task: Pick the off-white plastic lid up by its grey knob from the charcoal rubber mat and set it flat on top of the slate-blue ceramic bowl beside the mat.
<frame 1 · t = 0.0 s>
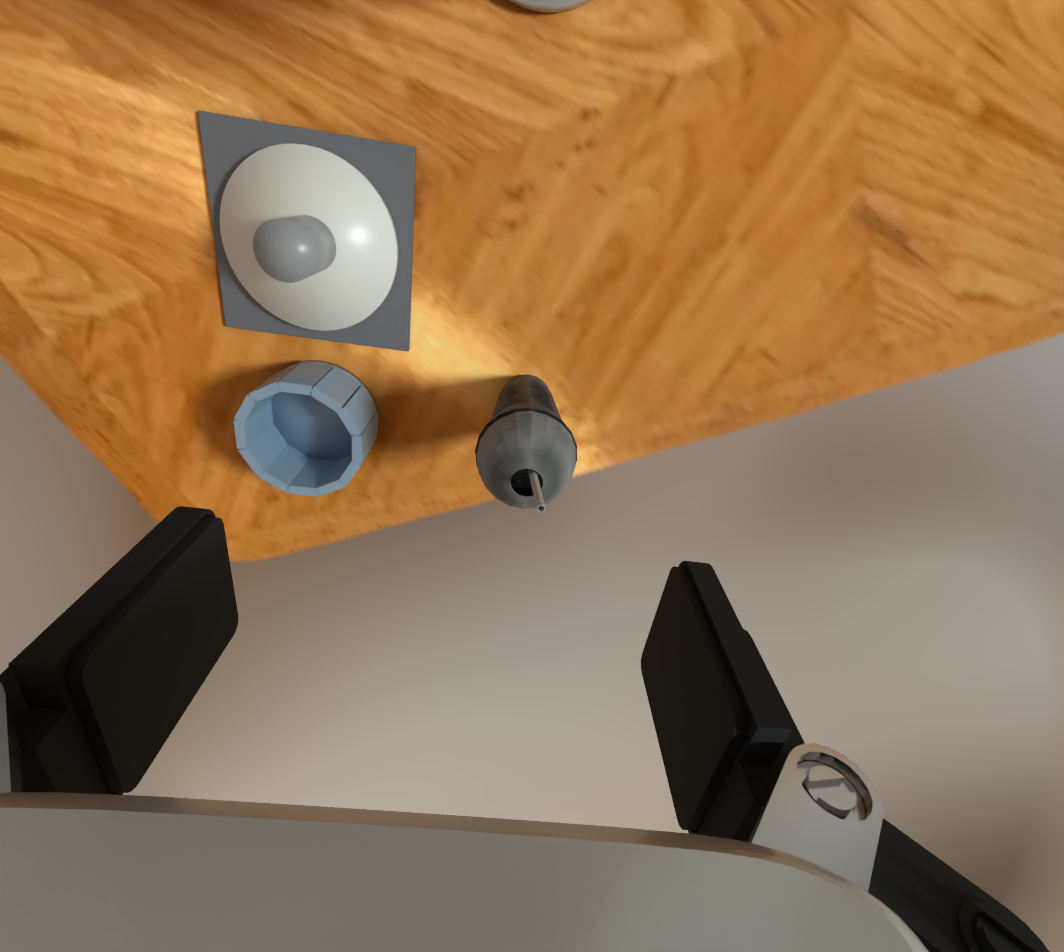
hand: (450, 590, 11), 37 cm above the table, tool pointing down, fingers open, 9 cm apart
mat: (315, 242, 42), on the table
lid: (313, 243, 41), resting on mat
beverage cup: (525, 397, 48), on the table
bowl: (323, 414, 49), on the table
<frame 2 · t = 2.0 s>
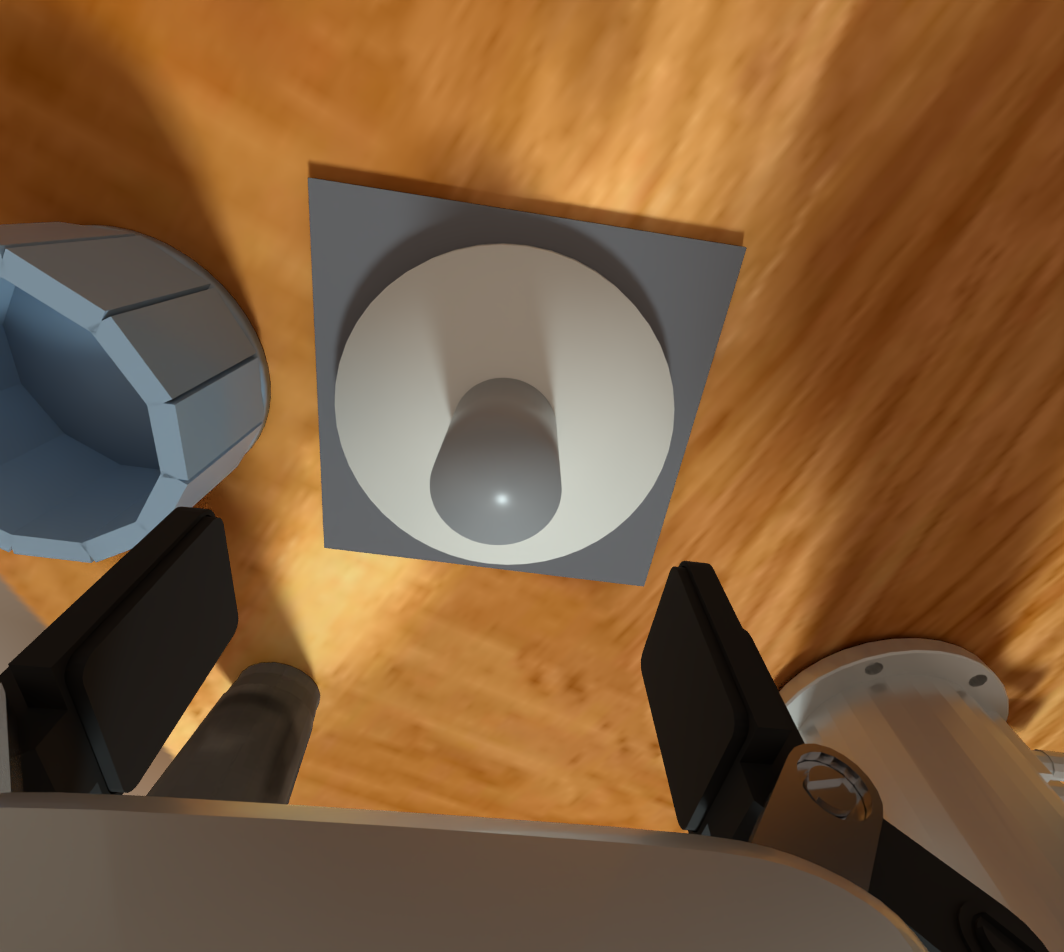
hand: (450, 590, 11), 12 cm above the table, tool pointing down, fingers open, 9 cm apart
mat: (506, 415, 22), on the table
lid: (506, 418, 22), resting on mat
beverage cup: (280, 688, 30), on the table
bowl: (141, 364, 21), on the table
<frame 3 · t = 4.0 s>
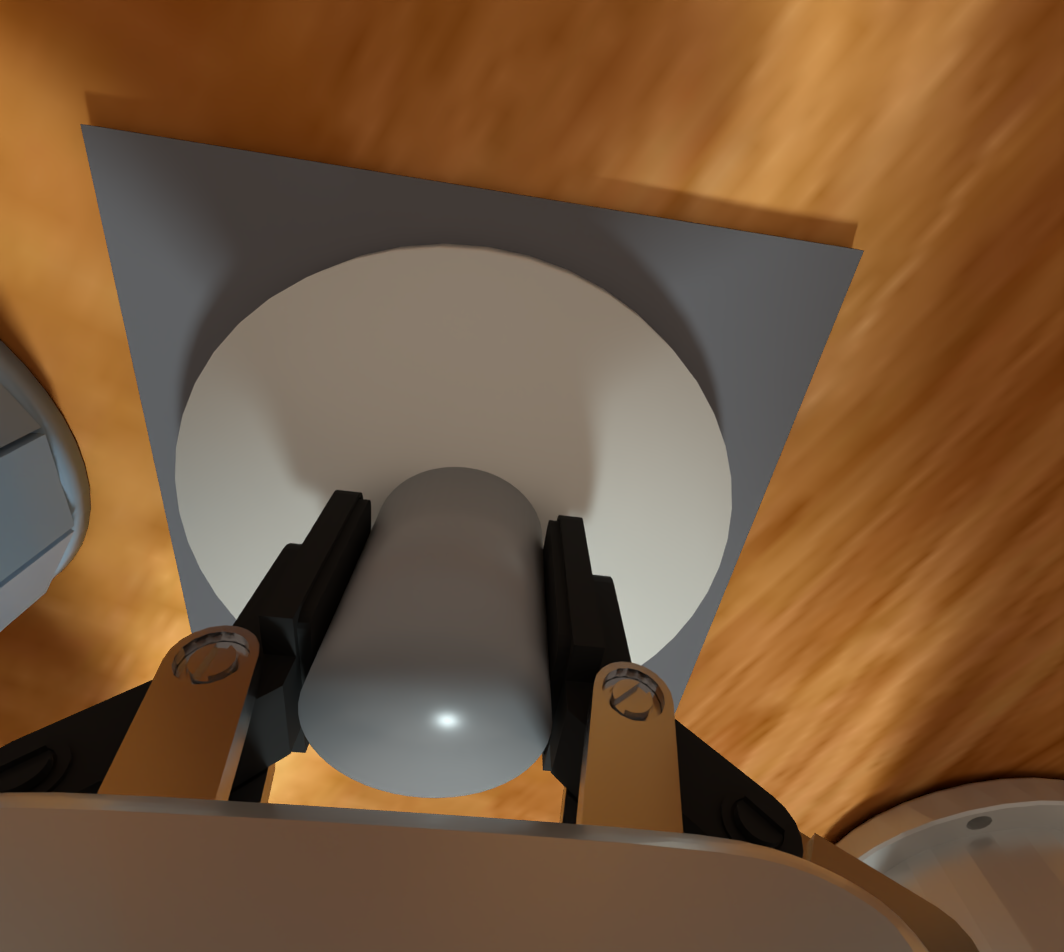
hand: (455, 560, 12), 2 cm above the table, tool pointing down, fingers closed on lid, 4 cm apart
mat: (464, 509, 14), on the table
lid: (463, 517, 14), resting on mat, touching gripper
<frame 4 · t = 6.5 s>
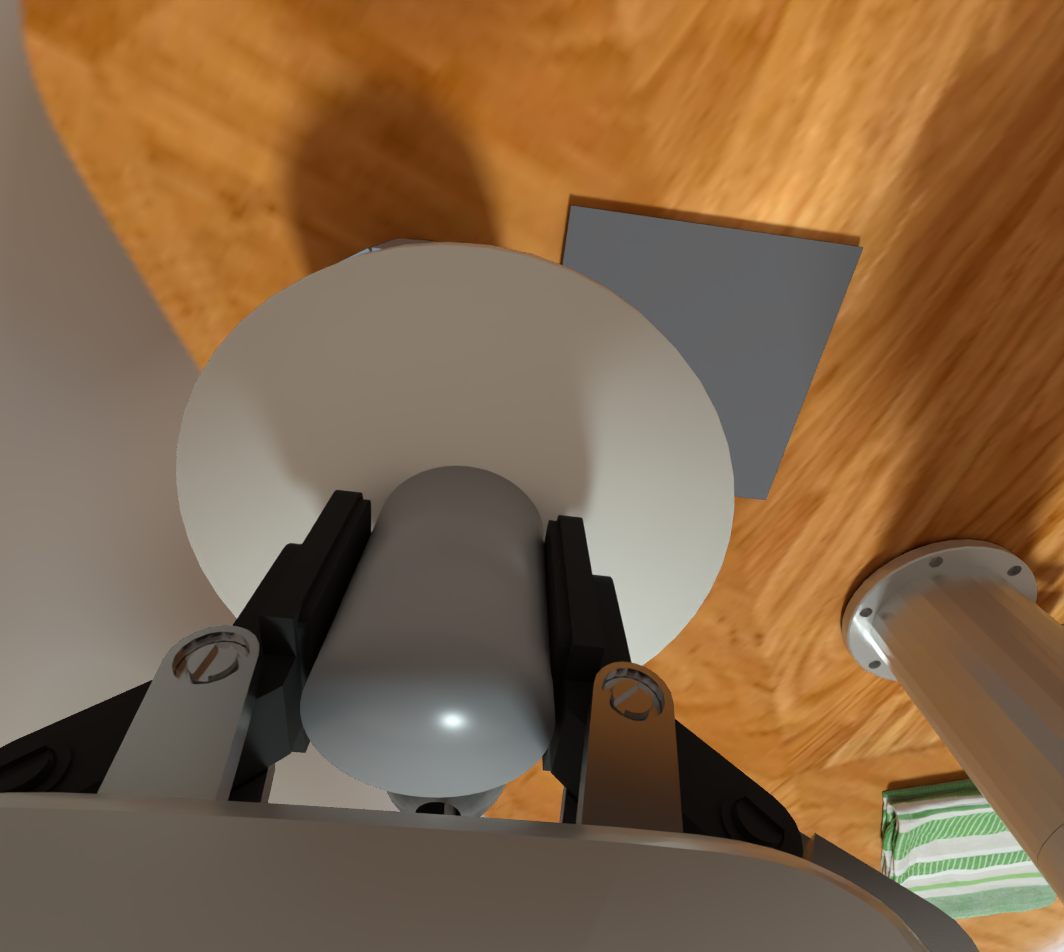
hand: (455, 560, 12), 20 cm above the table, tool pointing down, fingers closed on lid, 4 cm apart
dish towel: (963, 837, 54), on the table
mat: (679, 369, 31), on the table
lid: (465, 516, 14), point 18 cm above the table, touching gripper
beverage cup: (472, 592, 39), on the table
bowl: (424, 337, 30), on the table
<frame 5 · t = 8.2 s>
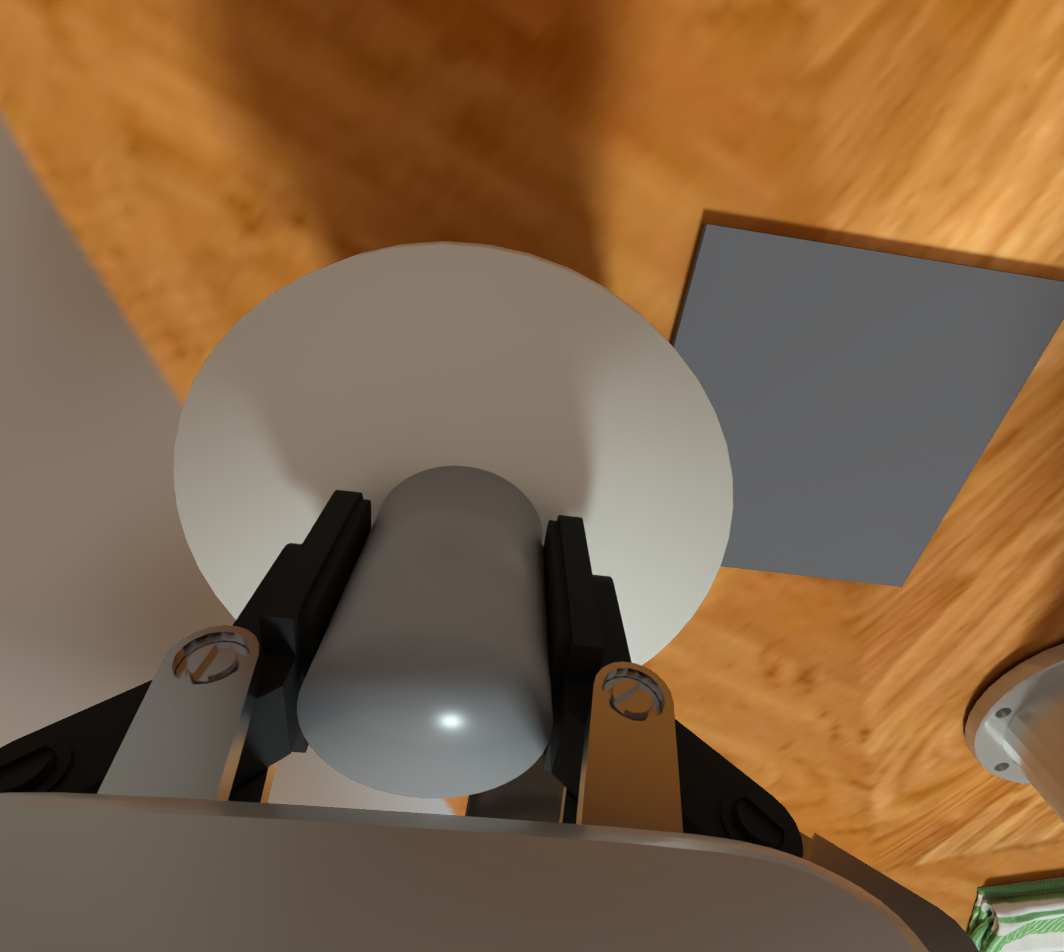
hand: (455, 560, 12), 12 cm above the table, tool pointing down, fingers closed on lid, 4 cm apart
dish towel: (1055, 928, 48), on the table
mat: (817, 433, 24), on the table
lid: (463, 516, 14), point 10 cm above the table, touching gripper
beverage cup: (528, 684, 32), on the table
when the fingers open (9 cm above the table, at t = 9.5 s): lid stays where it is, resting on bowl.
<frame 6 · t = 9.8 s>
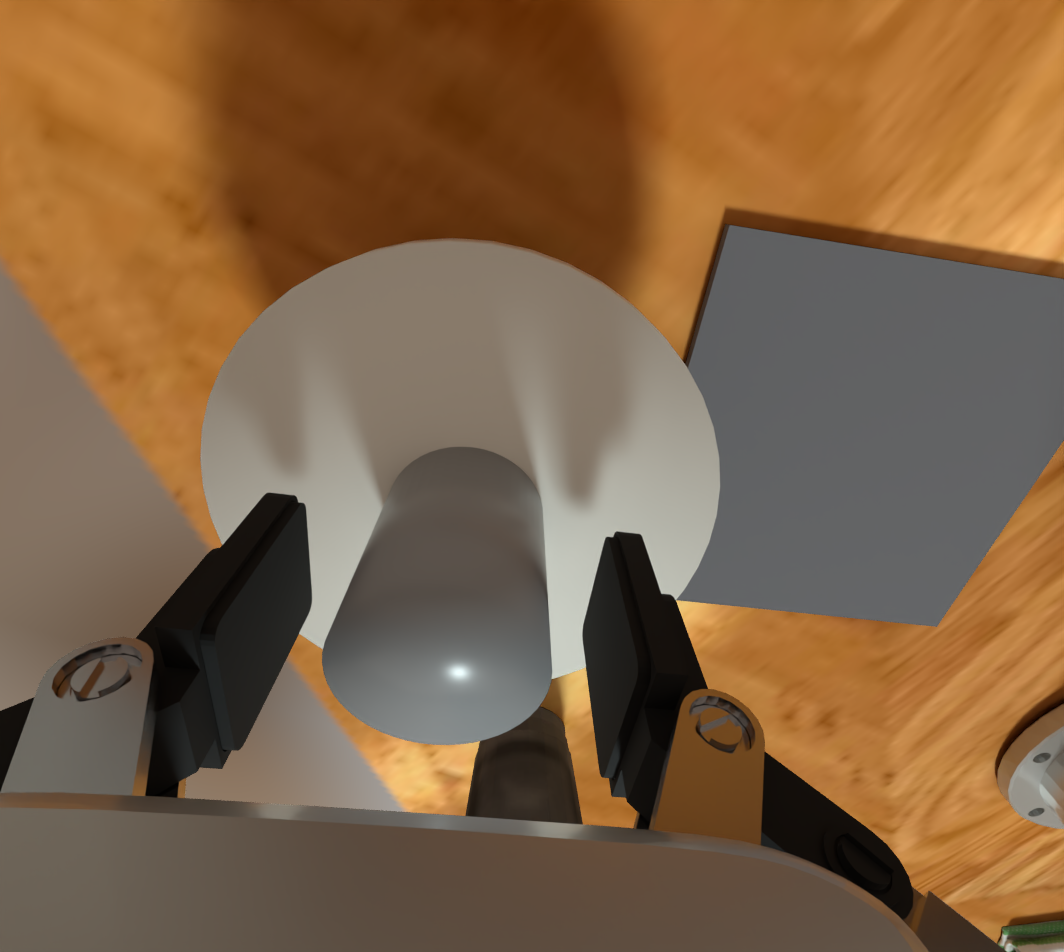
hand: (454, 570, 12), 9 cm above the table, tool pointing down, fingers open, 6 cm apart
mat: (848, 461, 21), on the table
lid: (468, 496, 15), point 6 cm above the table, touching bowl
beverage cup: (523, 729, 29), on the table
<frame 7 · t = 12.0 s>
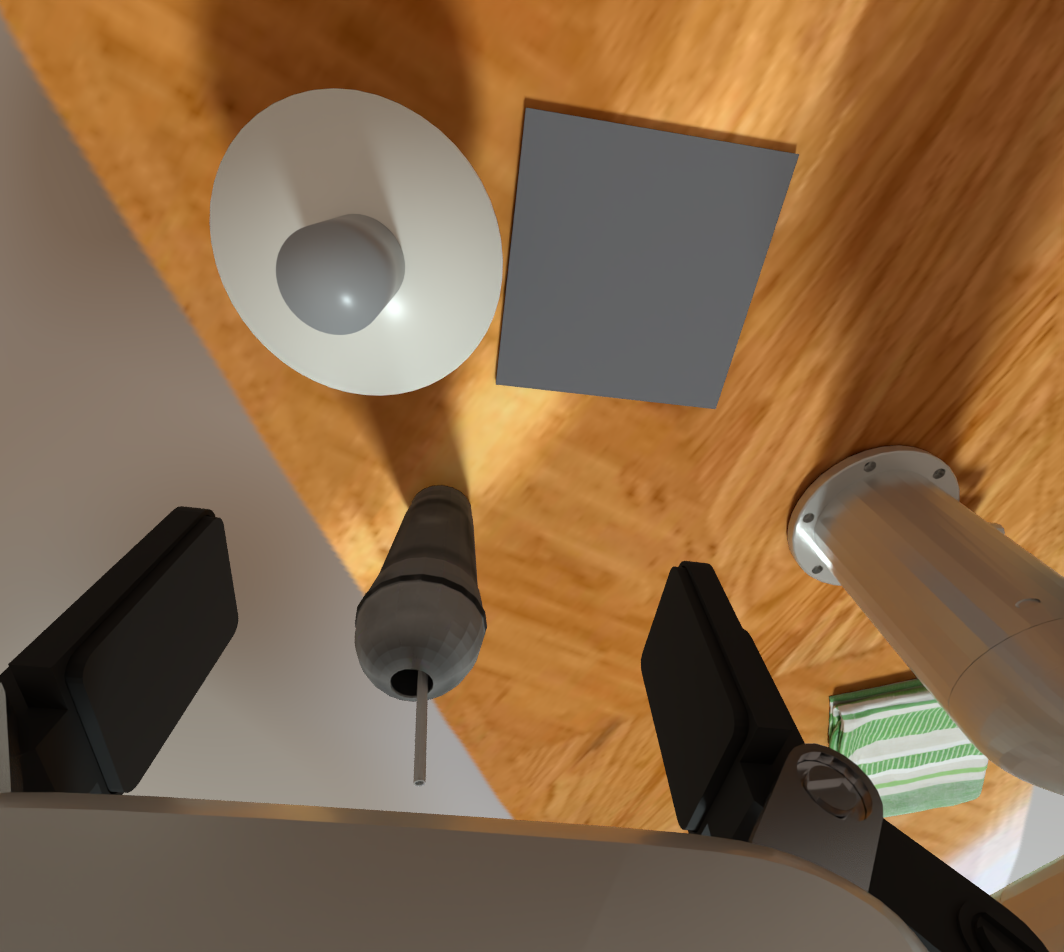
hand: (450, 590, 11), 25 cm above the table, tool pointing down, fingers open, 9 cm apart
dish towel: (901, 740, 59), on the table
mat: (632, 278, 32), on the table
lid: (365, 259, 25), point 6 cm above the table, touching bowl
beverage cup: (441, 509, 40), on the table
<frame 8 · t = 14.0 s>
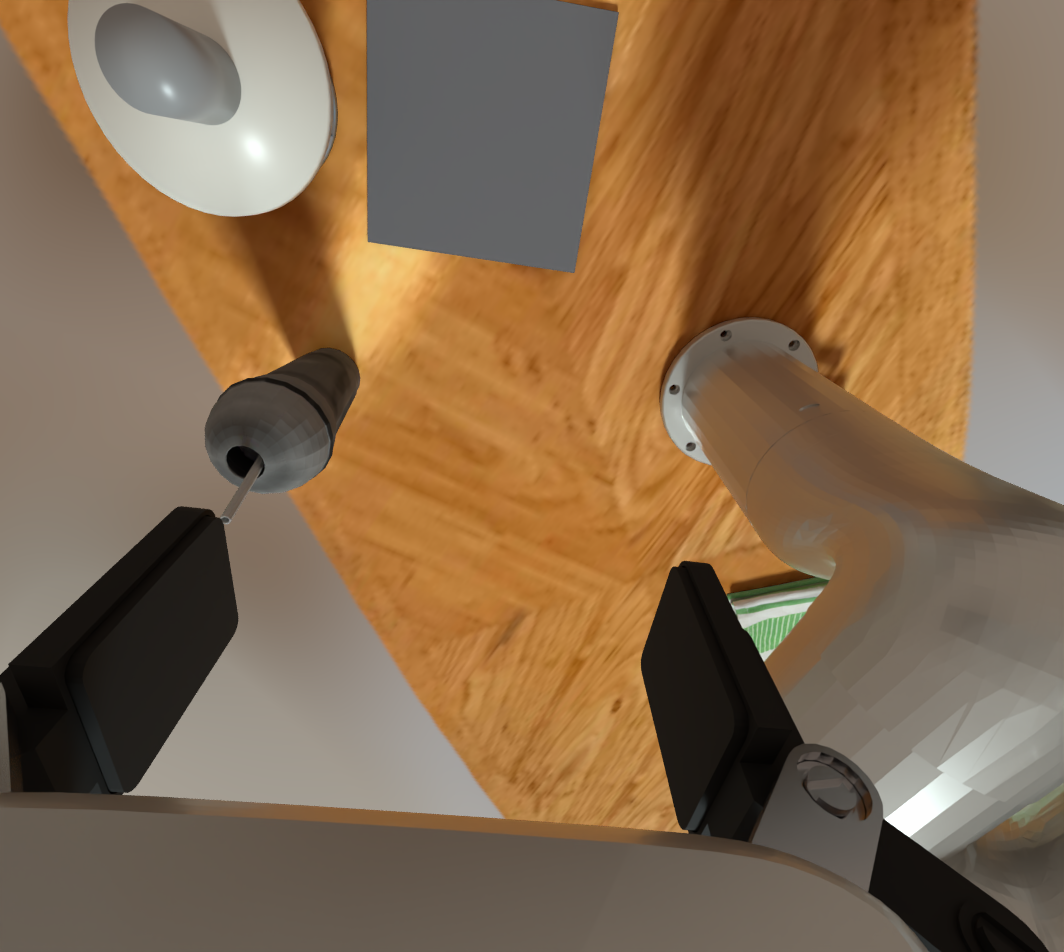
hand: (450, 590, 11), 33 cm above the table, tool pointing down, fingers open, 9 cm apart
dish towel: (808, 650, 60), on the table
mat: (483, 137, 36), on the table
lid: (211, 83, 29), point 6 cm above the table, touching bowl
beverage cup: (332, 374, 43), on the table
bowl: (258, 99, 34), on the table
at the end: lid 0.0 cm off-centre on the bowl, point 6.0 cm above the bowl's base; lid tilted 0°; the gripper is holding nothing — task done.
